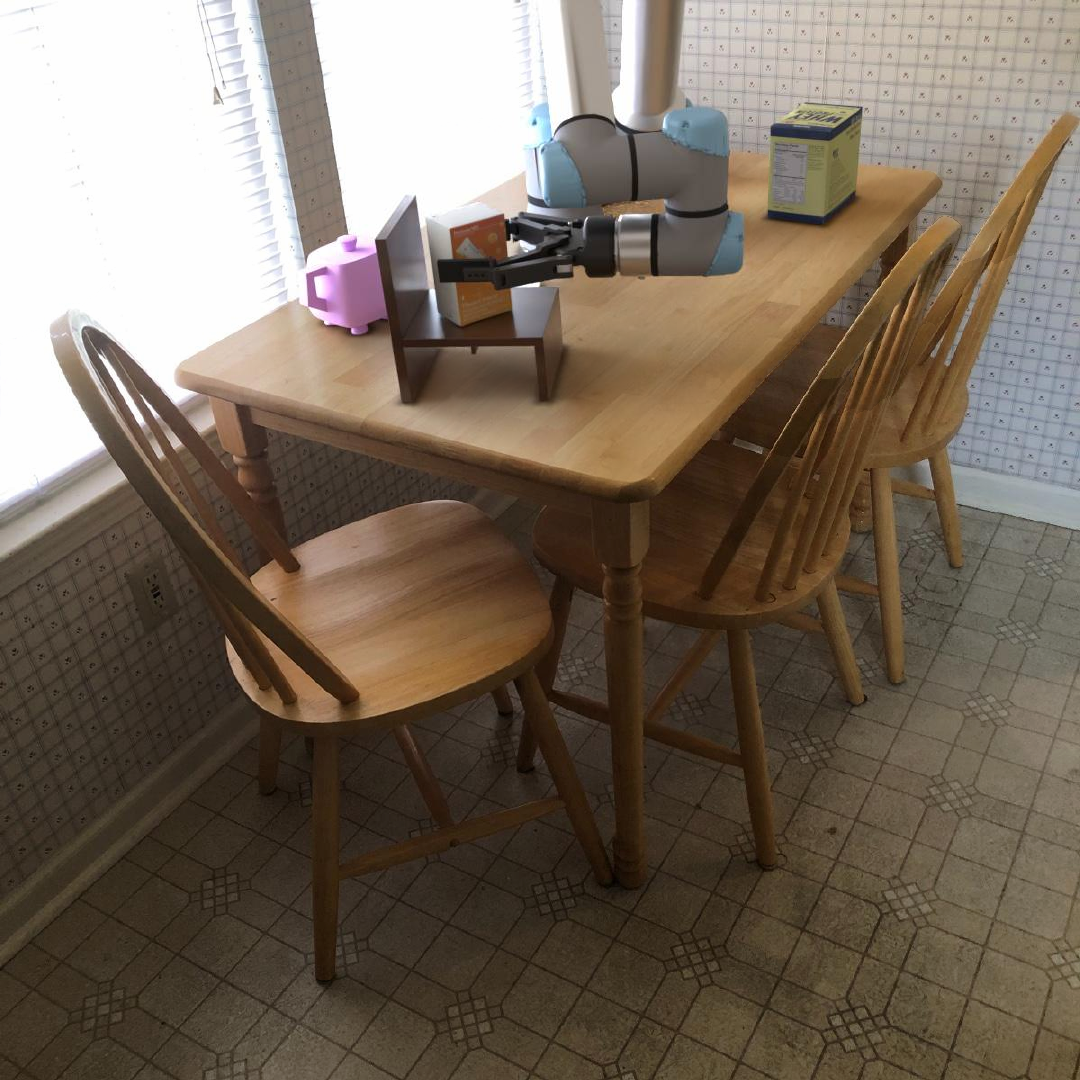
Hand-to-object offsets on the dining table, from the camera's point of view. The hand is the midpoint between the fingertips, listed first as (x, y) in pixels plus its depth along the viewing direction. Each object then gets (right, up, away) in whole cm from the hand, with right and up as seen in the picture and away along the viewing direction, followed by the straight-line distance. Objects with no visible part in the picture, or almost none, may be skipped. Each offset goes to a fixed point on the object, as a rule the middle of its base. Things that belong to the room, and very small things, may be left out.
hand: (450, 250), depth 142 cm
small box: (+3, -7, +4) cm, 9 cm away
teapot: (-15, -3, +28) cm, 32 cm away
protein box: (+59, +21, +52) cm, 81 cm away
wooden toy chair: (+5, -14, +9) cm, 18 cm away
